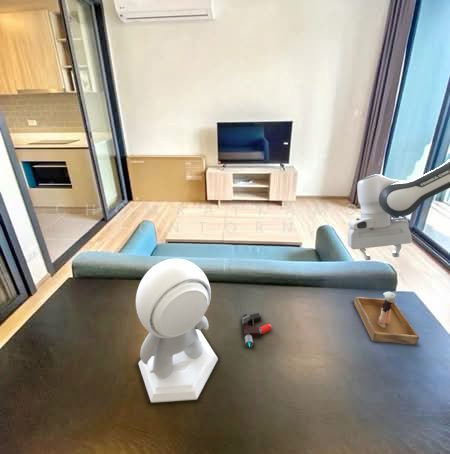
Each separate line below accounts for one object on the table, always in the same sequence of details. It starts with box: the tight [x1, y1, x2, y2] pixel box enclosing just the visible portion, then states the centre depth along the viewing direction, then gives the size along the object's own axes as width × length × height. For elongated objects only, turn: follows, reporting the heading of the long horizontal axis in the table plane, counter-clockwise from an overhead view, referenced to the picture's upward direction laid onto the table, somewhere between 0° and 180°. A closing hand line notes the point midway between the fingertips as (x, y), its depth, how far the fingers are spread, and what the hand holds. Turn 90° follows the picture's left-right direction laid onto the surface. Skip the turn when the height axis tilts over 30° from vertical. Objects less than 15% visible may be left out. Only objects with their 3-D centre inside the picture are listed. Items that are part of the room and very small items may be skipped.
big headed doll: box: [135, 258, 219, 404], centre depth 66 cm, size 20×23×35 cm
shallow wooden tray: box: [353, 296, 420, 345], centre depth 85 cm, size 13×15×4 cm
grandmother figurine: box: [377, 291, 397, 328], centre depth 83 cm, size 8×4×13 cm, turn 148°
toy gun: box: [241, 312, 272, 348], centre depth 81 cm, size 10×12×5 cm
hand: (381, 258), depth 89 cm, fingers open, 8 cm apart
